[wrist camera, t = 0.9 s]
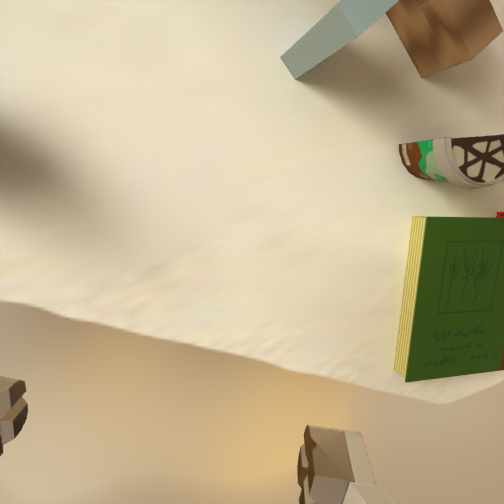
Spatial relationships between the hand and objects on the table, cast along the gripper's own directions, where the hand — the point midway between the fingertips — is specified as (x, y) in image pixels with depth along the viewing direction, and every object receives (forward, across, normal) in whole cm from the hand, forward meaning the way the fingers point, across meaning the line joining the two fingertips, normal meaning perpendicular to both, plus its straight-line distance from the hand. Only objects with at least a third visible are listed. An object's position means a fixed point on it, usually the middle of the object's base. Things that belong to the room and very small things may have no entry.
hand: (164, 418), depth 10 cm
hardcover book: (+45, -33, +13) cm, 58 cm away
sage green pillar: (+42, -4, -16) cm, 45 cm away
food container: (+46, -24, -5) cm, 52 cm away
